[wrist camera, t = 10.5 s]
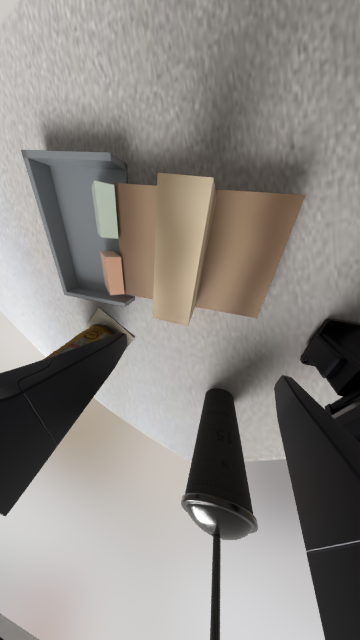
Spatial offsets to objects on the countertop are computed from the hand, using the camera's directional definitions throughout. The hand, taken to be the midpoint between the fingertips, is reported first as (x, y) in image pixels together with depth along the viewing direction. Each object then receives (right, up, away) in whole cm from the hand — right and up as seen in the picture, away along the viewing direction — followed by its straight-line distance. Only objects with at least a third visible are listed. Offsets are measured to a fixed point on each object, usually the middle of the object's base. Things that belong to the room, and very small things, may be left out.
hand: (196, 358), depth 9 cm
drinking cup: (+6, -12, +19) cm, 23 cm away
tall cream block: (0, +8, +6) cm, 10 cm away
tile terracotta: (-8, +8, +9) cm, 15 cm away
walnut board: (+1, +10, +8) cm, 13 cm away
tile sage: (-8, +13, +7) cm, 16 cm away
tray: (-11, +12, +10) cm, 19 cm away
